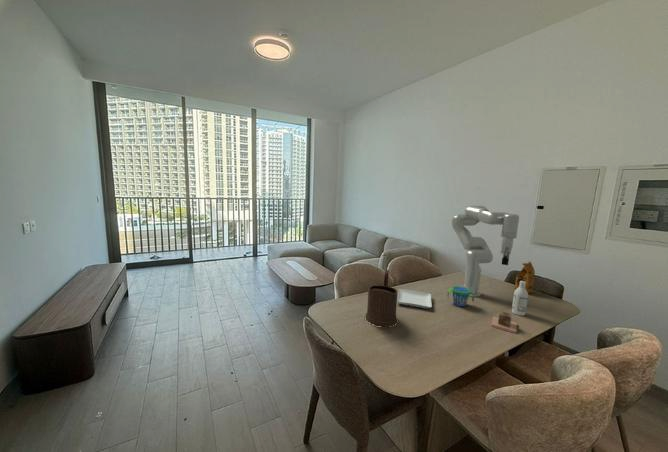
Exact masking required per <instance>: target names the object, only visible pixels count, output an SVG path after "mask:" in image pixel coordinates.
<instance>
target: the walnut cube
mask: <svg viewBox="0 0 668 452" xmlns="http://www.w3.org/2000/svg"><path fill="white" fill-rule="evenodd" d="M512 314H513V313H511V312H508V311H507V312H506V311H503V310H499V313H498V318H499V320H498V324H500V325H504V326H507V327H510V324H511V321H512V317H513V316H512Z"/></svg>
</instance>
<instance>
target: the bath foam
mask: <svg viewBox="0 0 668 452" xmlns="http://www.w3.org/2000/svg"><path fill="white" fill-rule="evenodd" d="M525 286H526V282H524V281H520V284H519V287H518V288H517V289H516V290H515V289H514V292H513V299H512V306H511V312H512V314H515V315H517V316H525V315H526V314H527V313H526V312H527V306H528V300H529V293H528V292H527V290H526V289H525Z"/></svg>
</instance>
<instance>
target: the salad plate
mask: <svg viewBox="0 0 668 452" xmlns="http://www.w3.org/2000/svg"><path fill="white" fill-rule="evenodd" d="M397 304H399V305H404V306H408V305H409V307H414V306H415V308H420V307H421V309H431V308H432V307H433V303H432V294H431V293H429V292H423V291H417V290H411V289H405V288H404V289H403V288H398V291H397Z"/></svg>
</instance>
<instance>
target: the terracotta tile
mask: <svg viewBox="0 0 668 452" xmlns="http://www.w3.org/2000/svg"><path fill="white" fill-rule="evenodd" d="M498 320H499V317H497V316H493V317H492V320H491V328H492V327H493V328H496V329H499V330H502V331H506V332H509V333H513V334H517V321H512V320H511V324H510V327H507V326H504V325H500V324H498Z"/></svg>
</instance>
